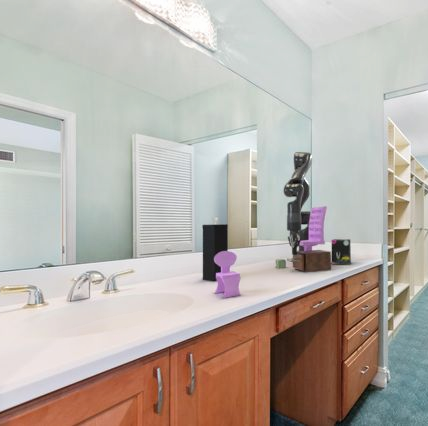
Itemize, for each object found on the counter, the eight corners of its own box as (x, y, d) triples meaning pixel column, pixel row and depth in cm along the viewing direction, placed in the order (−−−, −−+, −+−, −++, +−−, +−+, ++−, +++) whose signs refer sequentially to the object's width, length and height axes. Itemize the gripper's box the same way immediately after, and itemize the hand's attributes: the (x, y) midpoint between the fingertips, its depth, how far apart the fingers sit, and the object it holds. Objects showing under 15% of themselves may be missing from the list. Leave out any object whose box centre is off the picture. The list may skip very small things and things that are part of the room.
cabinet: (306, 272, 141) (305, 253, 141) (296, 268, 152) (296, 251, 153) (331, 269, 147) (330, 251, 148) (319, 266, 159) (319, 249, 159)
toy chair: (220, 298, 92) (220, 253, 93) (211, 293, 99) (211, 251, 100) (243, 294, 97) (243, 251, 98) (234, 290, 104) (233, 249, 105)
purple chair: (291, 263, 171) (291, 207, 173) (315, 261, 180) (315, 207, 181) (303, 266, 158) (302, 205, 160) (328, 264, 167) (327, 206, 168)
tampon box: (331, 264, 167) (331, 239, 168) (333, 262, 176) (333, 239, 177) (349, 264, 165) (349, 239, 165) (351, 262, 174) (350, 239, 174)
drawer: (293, 271, 139) (293, 255, 139) (285, 268, 149) (285, 253, 149) (325, 268, 146) (324, 253, 147) (315, 265, 157) (314, 251, 157)
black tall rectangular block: (228, 278, 128) (227, 217, 129) (214, 281, 121) (214, 217, 122) (216, 276, 132) (215, 217, 133) (202, 279, 125) (202, 217, 126)
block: (275, 267, 159) (275, 259, 159) (283, 266, 161) (283, 259, 161) (278, 268, 155) (278, 260, 155) (285, 267, 157) (285, 259, 157)
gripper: (305, 221, 142) (306, 255, 141) (295, 221, 154) (295, 253, 153) (292, 221, 139) (292, 256, 138) (282, 221, 151) (283, 254, 150)
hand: (294, 254), depth 145 cm, fingers closed
